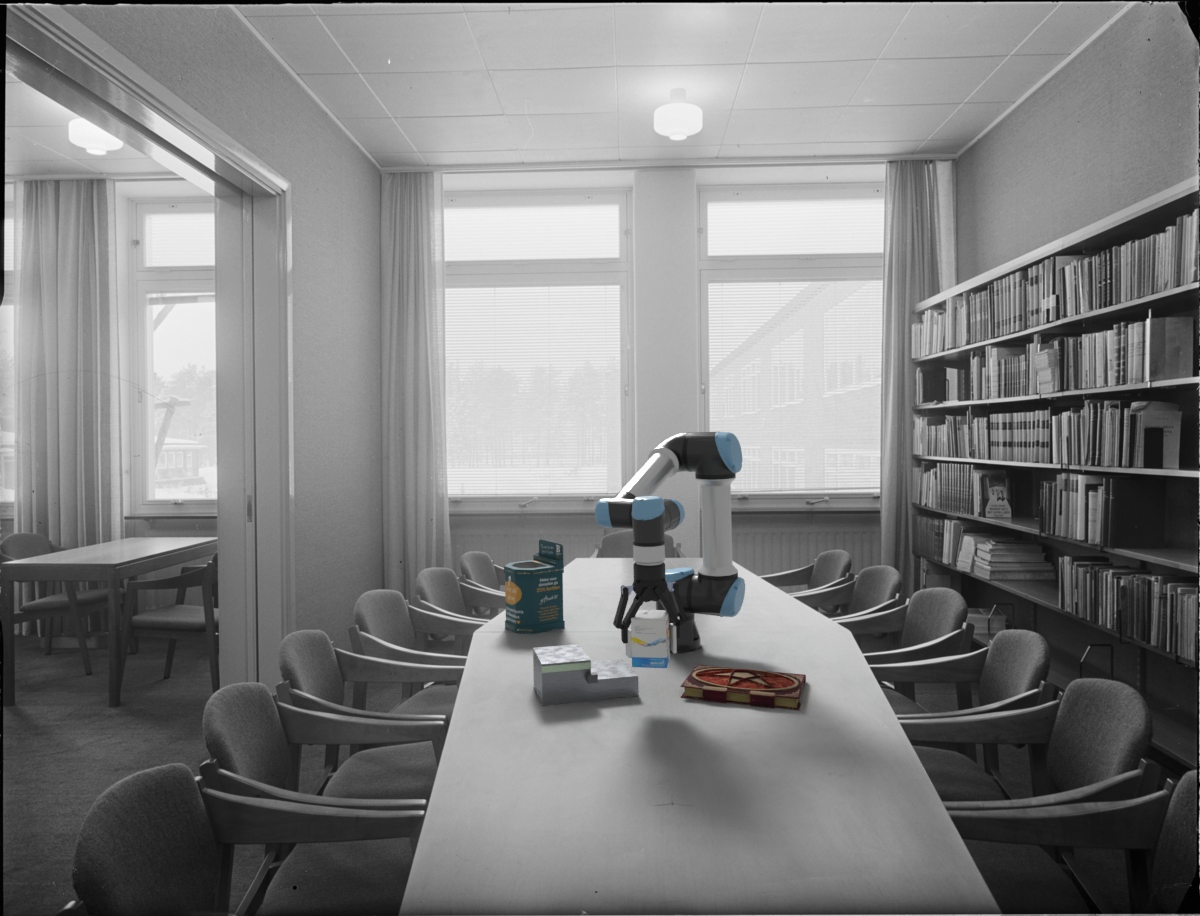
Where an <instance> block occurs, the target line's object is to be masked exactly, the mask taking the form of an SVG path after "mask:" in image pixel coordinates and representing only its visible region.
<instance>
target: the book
mask: <svg viewBox="0 0 1200 916" xmlns="http://www.w3.org/2000/svg"><path fill="white" fill-rule="evenodd" d="M806 683H807V675H806V674H804V673H802V674H801V673H791V672H782V671H781V672H779V671H770V670H759V669H753V668H752V669H751V668H741V667H739V668H738V667H729V666H727V667H726V666H719V665H718V666H717V665H716V666H715V665H708V664H707V665H706V664H696V665H695V667H694V668H693V669H692V670H691V671H690V673H689V674H688V675H687V677H686V678H685V680H684V681H683V683H682V684H681V685H680V688H684V691H683V692H682V695H681V696H680V698H682V699H689V700H690V699H691V700H699V701H700V700H702V702H709V703H710V702H712V703H719V704H737V705H746V706H747V705H748V706H750V707H757V708H767V709H784V710H794V711H800V709H801V706H802V705H801V702H800V699H801V695H802V691H803V686H804V684H806Z"/></svg>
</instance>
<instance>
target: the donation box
mask: <svg viewBox="0 0 1200 916" xmlns="http://www.w3.org/2000/svg"><path fill="white" fill-rule="evenodd" d="M532 556H533V558H532V559H530V560H521V561H514V562H508V563H507V564H505V565H503V574H504V583H505V584H504V588H505V589H504V590H505V591H504V592H505V595H504V596H505V620H504V628H505V629H506V630H508V631H510V632H513V633H515V634H529V635H530V634H531V635H535V634H539V633H540V634H541V633H546V632H550V631H554V630H560V629H565V625H566V624H565V623H566V622H565V620H564V582H563V579H564V578H563V577H564V574H563V573H564V571H565V569H564V566H565V565H564V545H563V544H562V543H559V542H555V541H550V540H546V539H542V538H540V539H539V541H538V552H537V553H535V554H533V555H532Z"/></svg>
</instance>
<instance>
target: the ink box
mask: <svg viewBox="0 0 1200 916" xmlns="http://www.w3.org/2000/svg"><path fill="white" fill-rule="evenodd" d="M630 627H631V628H630V630H631V642H632V658H631V666H632V667H631V668H645V669H646V668H647V669H648V668H649V669H652V668H653V669H667V668H668V666H669V663H670V658H671V652H670V632H669V614H668V613H667V612H666V611H665V610H656V609H639V610H638V611H637V613H636V615H635V617H634V618H631V624H630Z"/></svg>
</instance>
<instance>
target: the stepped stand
mask: <svg viewBox="0 0 1200 916" xmlns="http://www.w3.org/2000/svg"><path fill="white" fill-rule="evenodd" d="M532 656H533V657H532V659H533V666H532V667H533V687H534V690H535V692H536V695H537V696H538V699H539V701H540V704H541V705H542V706H543V707H544V706H551V705H561V704H571V703H580V702H590V701H591V702H592V701H601V700H602V701H603V700H609V699H611V700H612V699H620V698H630V697H638V696H639V694H640V693H639V692H640V691H639V675H638V673H636V671H634V669H633V667H631V666H630V665H629V664H628V663H627V661H626V660H625V659H624V658H620V659H617V658H616V659H610V660H609V659H608V660H597V661H591V658H590V657H589V656H588V655H587V653H586V651H585V650H584V649H583V648H582V646H581V645H580V644H579V643H574V644H561V645H552V646H551V645H550V646H539V647H532Z"/></svg>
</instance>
